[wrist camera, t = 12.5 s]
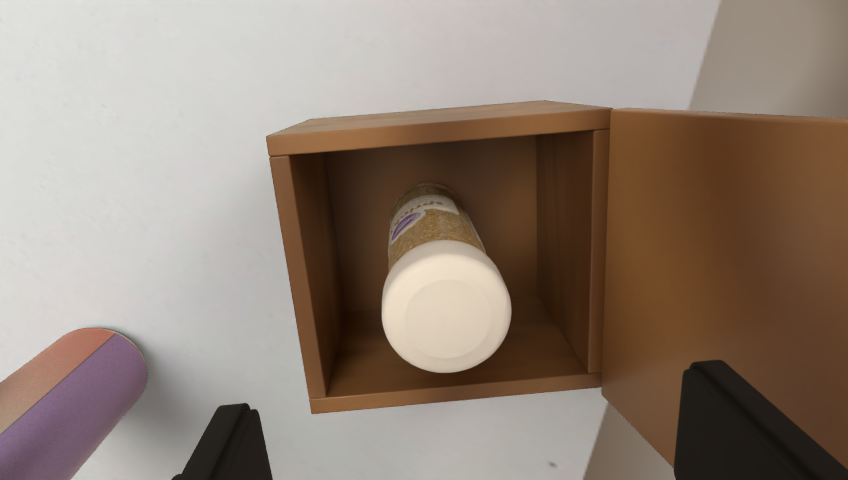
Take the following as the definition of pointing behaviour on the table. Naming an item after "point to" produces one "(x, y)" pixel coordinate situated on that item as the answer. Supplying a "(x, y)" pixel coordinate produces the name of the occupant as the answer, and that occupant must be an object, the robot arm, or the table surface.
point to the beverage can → (67, 403)
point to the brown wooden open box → (493, 221)
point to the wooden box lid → (727, 265)
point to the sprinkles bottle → (441, 284)
